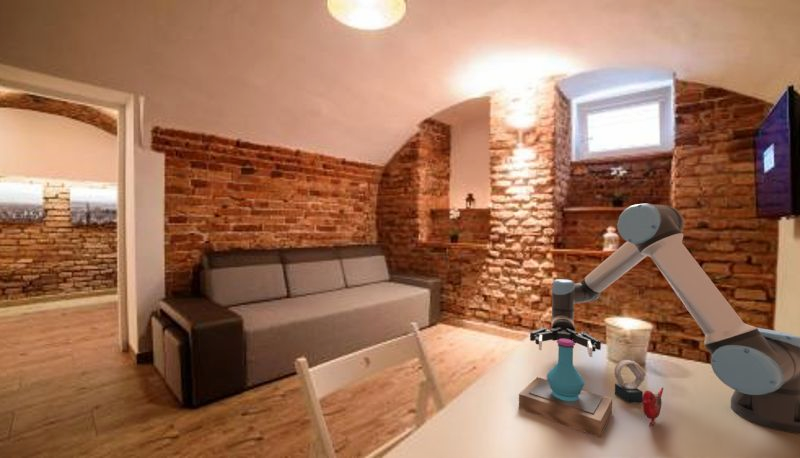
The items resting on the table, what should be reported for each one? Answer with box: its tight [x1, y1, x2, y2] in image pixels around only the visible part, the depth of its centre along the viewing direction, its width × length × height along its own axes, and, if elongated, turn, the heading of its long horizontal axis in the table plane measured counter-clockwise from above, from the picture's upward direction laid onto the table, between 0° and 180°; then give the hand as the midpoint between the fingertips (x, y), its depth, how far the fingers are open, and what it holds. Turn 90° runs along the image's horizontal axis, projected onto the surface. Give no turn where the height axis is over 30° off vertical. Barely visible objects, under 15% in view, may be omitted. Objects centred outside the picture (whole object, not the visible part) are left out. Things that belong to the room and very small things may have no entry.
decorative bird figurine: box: [642, 387, 664, 428], centre depth 91 cm, size 3×18×10 cm, turn 132°
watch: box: [613, 359, 647, 404], centre depth 104 cm, size 6×8×11 cm
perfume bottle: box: [546, 339, 585, 401], centre depth 96 cm, size 9×9×15 cm
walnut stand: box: [518, 376, 613, 438], centre depth 96 cm, size 20×14×4 cm
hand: (564, 348), depth 104 cm, fingers open, 13 cm apart
